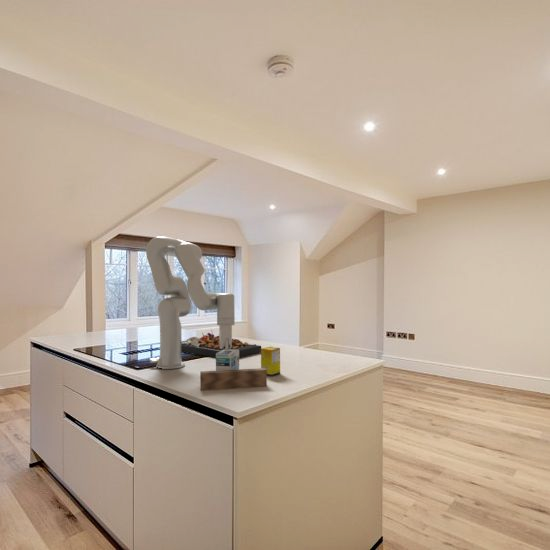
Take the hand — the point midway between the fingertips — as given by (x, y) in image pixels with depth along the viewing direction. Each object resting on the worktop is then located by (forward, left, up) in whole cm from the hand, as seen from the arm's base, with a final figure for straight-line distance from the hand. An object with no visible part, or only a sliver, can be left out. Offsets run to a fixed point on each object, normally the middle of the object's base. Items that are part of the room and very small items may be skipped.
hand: (225, 363), depth 159 cm
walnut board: (+1, -25, -3) cm, 25 cm away
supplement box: (+18, -9, -3) cm, 20 cm away
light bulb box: (0, -11, -3) cm, 12 cm away
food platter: (-2, +48, -4) cm, 48 cm away
